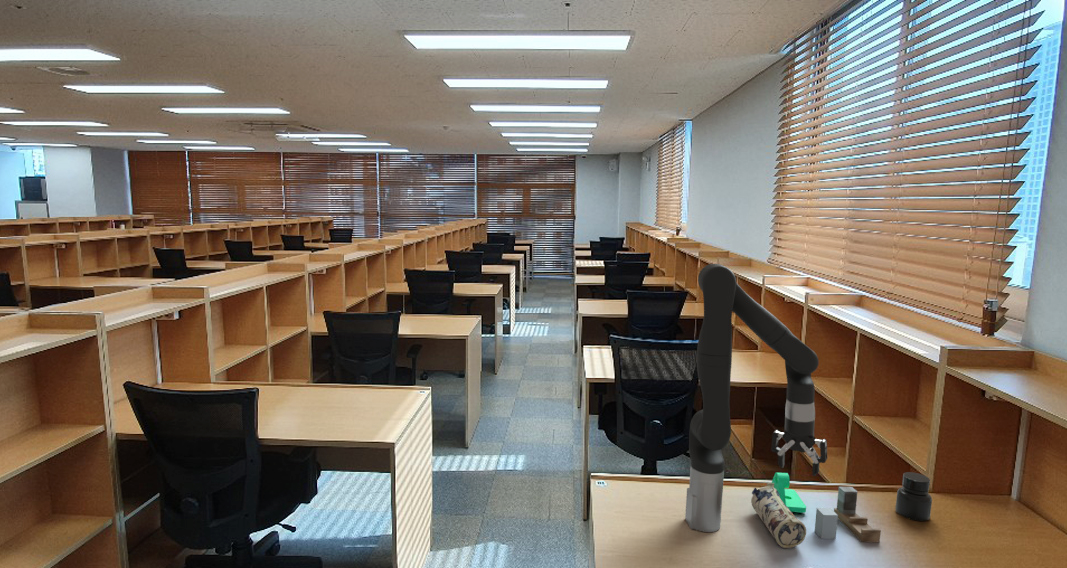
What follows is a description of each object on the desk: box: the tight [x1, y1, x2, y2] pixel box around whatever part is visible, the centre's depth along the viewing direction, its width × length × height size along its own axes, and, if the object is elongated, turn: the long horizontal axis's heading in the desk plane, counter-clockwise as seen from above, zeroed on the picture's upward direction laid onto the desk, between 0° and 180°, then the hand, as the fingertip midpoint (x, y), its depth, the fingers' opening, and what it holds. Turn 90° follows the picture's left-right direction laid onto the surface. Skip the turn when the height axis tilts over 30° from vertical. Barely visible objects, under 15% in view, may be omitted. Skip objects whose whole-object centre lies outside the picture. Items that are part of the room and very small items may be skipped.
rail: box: [833, 486, 882, 543], centre depth 173 cm, size 5×15×9 cm, turn 1°
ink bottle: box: [895, 471, 933, 522], centre depth 181 cm, size 10×9×12 cm
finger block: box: [814, 507, 839, 540], centre depth 169 cm, size 4×4×7 cm
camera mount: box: [771, 472, 807, 513], centre depth 185 cm, size 12×8×10 cm, turn 174°
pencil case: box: [750, 482, 807, 549], centre depth 170 cm, size 22×8×10 cm, turn 179°
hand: (798, 470), depth 169 cm, fingers open, 8 cm apart
